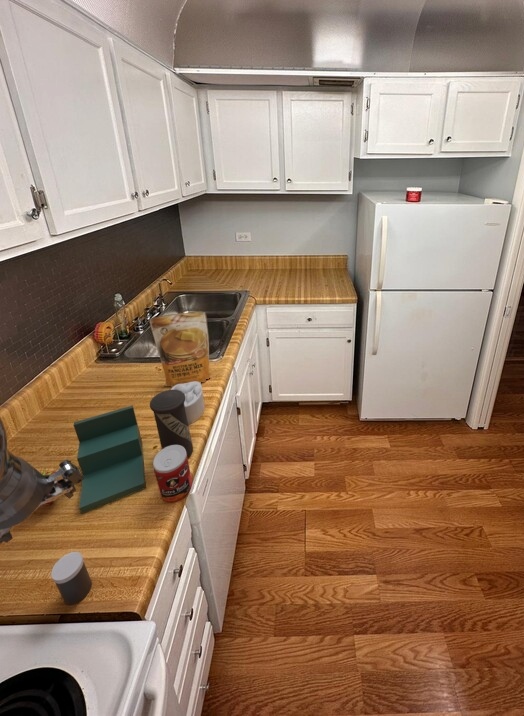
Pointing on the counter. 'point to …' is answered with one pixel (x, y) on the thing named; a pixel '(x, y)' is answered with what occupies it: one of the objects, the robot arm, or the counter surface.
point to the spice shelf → (109, 457)
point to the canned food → (172, 473)
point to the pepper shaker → (71, 578)
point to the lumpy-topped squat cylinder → (192, 400)
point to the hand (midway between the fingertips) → (39, 512)
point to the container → (172, 419)
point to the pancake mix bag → (182, 346)
